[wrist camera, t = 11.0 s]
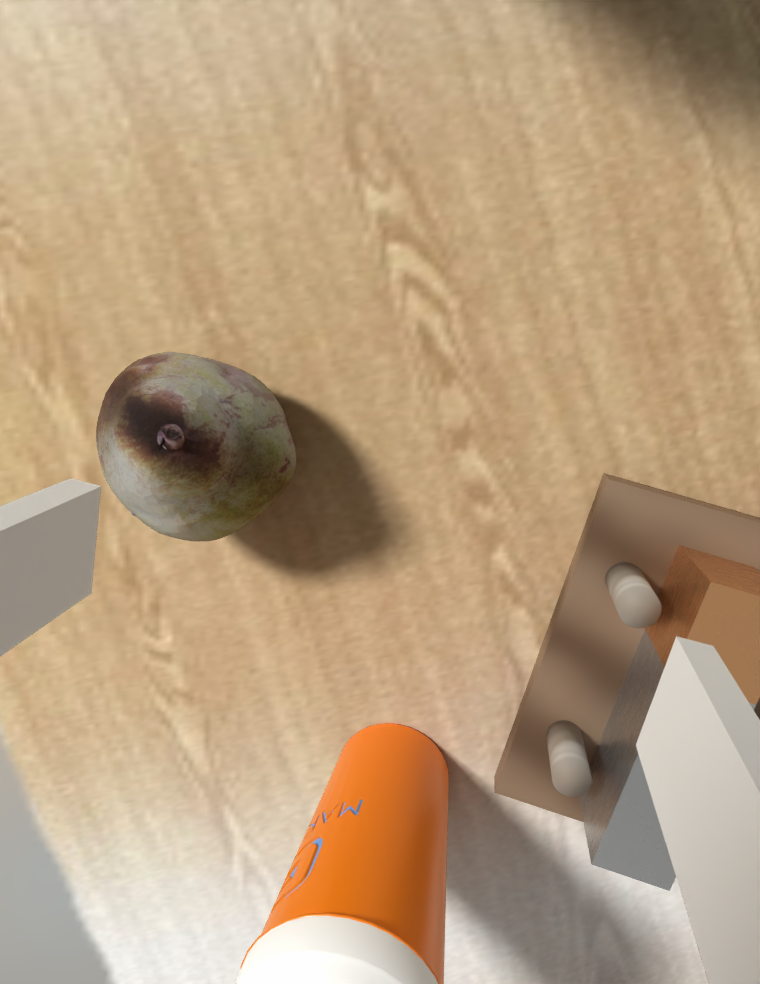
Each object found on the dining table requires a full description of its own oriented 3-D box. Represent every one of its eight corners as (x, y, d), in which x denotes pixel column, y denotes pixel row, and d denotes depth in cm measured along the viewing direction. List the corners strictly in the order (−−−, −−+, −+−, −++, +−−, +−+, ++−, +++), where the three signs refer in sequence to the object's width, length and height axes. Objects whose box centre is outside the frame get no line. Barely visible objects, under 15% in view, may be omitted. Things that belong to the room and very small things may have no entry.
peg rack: (603, 473, 37) (622, 497, 32) (847, 542, 36) (907, 579, 31) (494, 776, 42) (494, 840, 37) (703, 846, 41) (734, 921, 36)
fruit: (340, 409, 39) (276, 443, 27) (268, 545, 41) (182, 628, 30) (185, 320, 39) (55, 316, 28) (123, 460, 42) (-19, 510, 30)
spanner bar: (646, 816, 40) (669, 890, 35) (578, 793, 40) (591, 864, 35) (755, 567, 36) (800, 608, 30) (678, 545, 36) (710, 581, 31)
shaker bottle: (485, 740, 42) (478, 1086, 23) (436, 853, 44) (392, 1252, 25) (349, 687, 43) (231, 980, 23) (308, 801, 45) (170, 1151, 26)
